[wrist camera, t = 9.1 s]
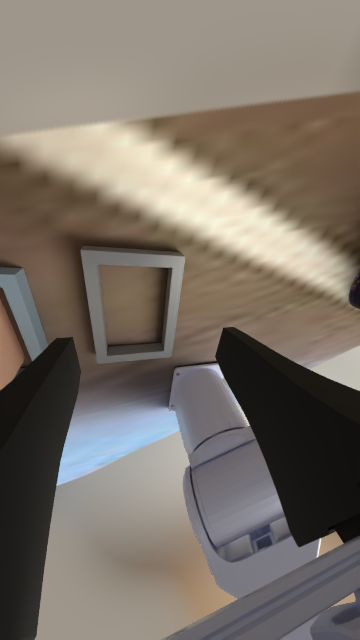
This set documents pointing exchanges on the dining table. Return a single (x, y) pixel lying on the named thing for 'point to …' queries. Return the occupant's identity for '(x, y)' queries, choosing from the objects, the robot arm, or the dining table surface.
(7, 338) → the terracotta block
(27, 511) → the robot arm
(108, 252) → the grey rectangular open frame
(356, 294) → the storage jar
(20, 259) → the dining table surface
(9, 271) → the grey picture frame
